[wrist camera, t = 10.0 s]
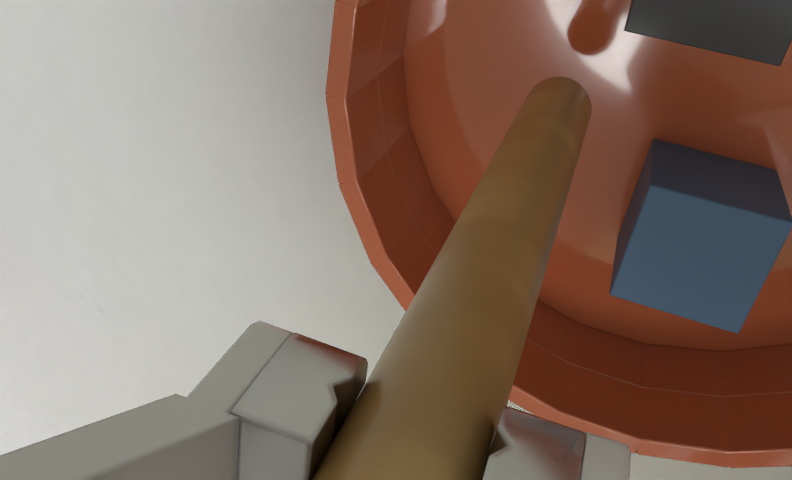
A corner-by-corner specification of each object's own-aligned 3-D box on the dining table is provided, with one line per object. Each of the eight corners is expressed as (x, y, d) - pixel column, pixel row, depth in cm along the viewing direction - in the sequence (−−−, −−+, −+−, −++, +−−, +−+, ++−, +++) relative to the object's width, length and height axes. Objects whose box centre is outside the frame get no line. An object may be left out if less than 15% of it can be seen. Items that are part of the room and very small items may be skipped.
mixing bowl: (1384, -266, 16) (1708, -314, 11) (894, 428, 27) (944, 561, 22) (452, -379, 20) (380, -452, 15) (359, 260, 31) (299, 339, 26)
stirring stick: (600, 84, 19) (366, 895, 4) (581, 145, 20) (336, 987, 5) (534, 68, 20) (113, 769, 5) (519, 129, 21) (125, 877, 6)
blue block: (777, 169, 24) (795, 223, 20) (730, 270, 26) (738, 335, 22) (653, 137, 24) (649, 184, 21) (616, 238, 26) (608, 295, 23)
